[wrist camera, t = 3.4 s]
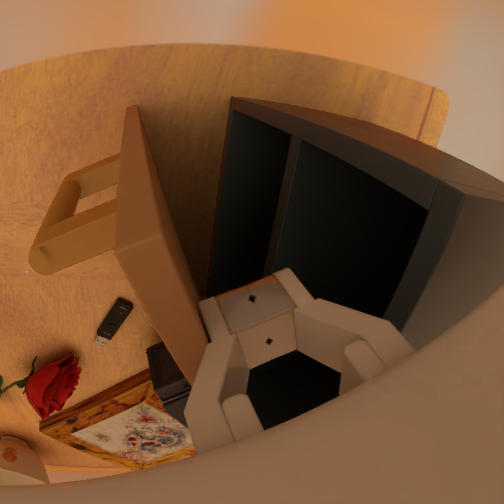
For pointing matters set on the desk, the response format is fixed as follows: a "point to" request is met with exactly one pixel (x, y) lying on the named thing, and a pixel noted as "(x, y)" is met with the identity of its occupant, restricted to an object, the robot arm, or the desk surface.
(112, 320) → the usb flash drive
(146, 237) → the door
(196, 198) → the desk surface
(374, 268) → the cupboard
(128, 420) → the picture frame
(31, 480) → the bowl
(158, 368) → the camera
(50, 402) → the flower
